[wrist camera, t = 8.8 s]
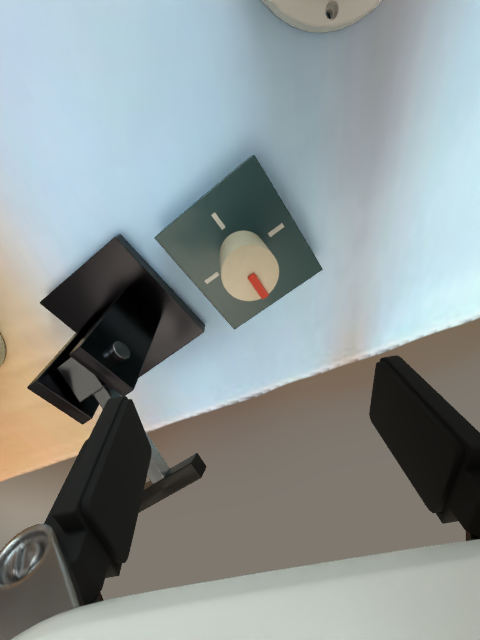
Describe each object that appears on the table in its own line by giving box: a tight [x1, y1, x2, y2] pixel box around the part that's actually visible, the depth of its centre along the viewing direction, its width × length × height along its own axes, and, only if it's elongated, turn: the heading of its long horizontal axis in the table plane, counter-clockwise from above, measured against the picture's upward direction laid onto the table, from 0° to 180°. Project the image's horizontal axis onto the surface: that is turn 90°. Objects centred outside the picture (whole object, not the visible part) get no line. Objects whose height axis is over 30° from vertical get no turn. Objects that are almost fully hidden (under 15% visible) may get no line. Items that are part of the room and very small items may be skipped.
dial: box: [220, 231, 279, 301], centre depth 21 cm, size 4×4×6 cm
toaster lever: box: [58, 357, 206, 513], centre depth 19 cm, size 12×6×2 cm, turn 36°
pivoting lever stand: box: [27, 234, 205, 424], centre depth 23 cm, size 12×10×12 cm
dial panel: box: [155, 155, 322, 329], centre depth 25 cm, size 10×11×3 cm
